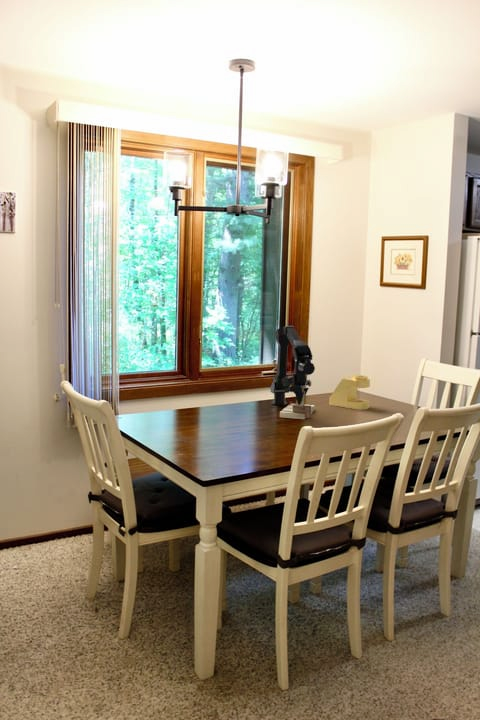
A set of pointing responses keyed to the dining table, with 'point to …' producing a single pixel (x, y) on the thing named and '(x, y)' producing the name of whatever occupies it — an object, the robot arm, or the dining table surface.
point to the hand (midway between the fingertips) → (300, 403)
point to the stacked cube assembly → (302, 408)
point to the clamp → (350, 393)
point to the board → (289, 412)
